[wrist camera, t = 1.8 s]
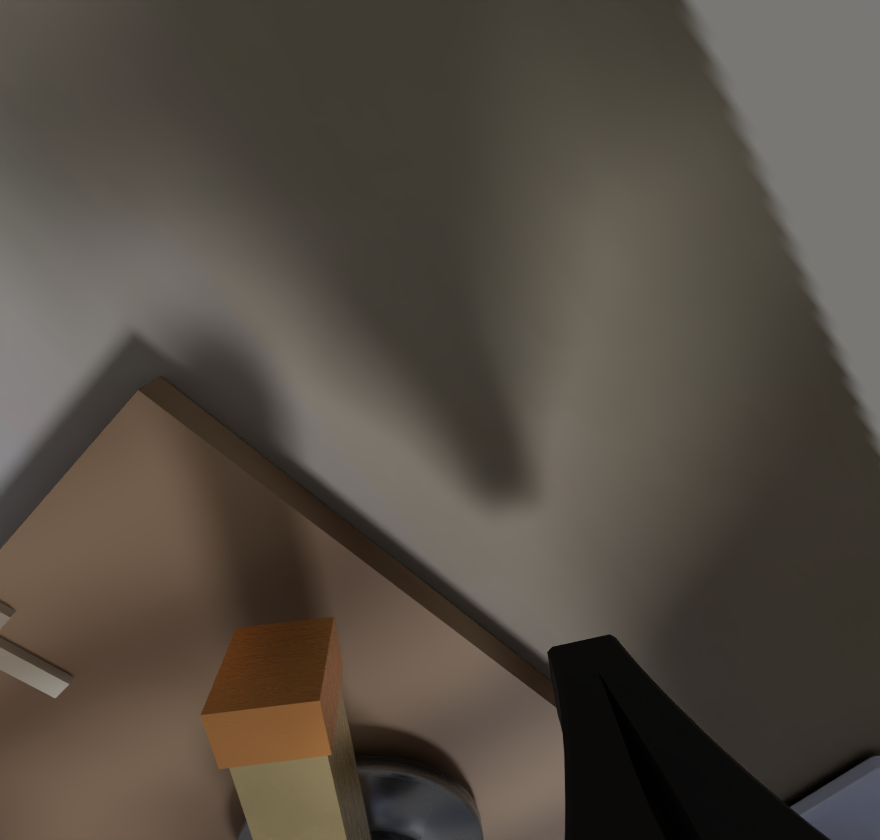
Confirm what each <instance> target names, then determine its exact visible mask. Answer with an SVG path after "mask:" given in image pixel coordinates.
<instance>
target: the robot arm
mask: <svg viewBox="0 0 880 840" xmlns="http://www.w3.org/2000/svg"><path fill="white" fill-rule="evenodd" d="M547 653H548V659H549V665H550V671H551V678H552V684H553V690H554V696H555V702H556V708H557V714H558V718H559V721H560V725H561V729H562V733H563V746H564V770H565V840H880V756H873V757H871V758H868V759H867V760H865V761H863V762H862V763H860V764H859V765H857V766H855V767H854V768H852V769H850V770H849V771H847V772H846V773H844V774H842V775H841V776H839V777H837V778H836V779H834V780H833V781H831V782H829V783H828V784H826V785H824V786H823V787H821V788H820V789H818V790H816V791H815V792H813V793H812V794H810V795H808V796H807V797H805V798H803V799H802V800H800V801H799V802H797V803H795V804H794V805H792V806H790V807H789V806H788V805H786V804H785V803H784V802H783V801H781V800H780V799H779V798H778V797H777V796H775V795H774V794H773V793H772V792H771V791H769V790H768V789H767V788H766V787H765V786H764V785H762V784H761V783H760V782H759V781H758V780H757V779H755V778H754V777H753V776H752V775H751V774H750V773H749V772H747V771H746V770H745V769H744V768H743V767H742V766H741V765H740V764H739V763H737V762H736V761H735V760H734V759H733V758H732V757H731V756H730V755H728V754H727V753H726V752H725V751H724V750H723V749H722V748H721V747H720V746H719V745H718V744H716V743H715V742H714V741H713V740H712V739H711V738H710V737H709V736H708V735H707V734H706V733H705V732H704V731H703V730H702V729H701V728H700V727H699V726H698V725H697V724H696V723H695V722H694V721H692V720H691V719H690V718H689V717H688V716H687V715H686V714H685V713H684V712H683V711H682V710H681V709H680V708H679V707H678V706H677V705H676V704H675V703H674V702H673V701H672V700H671V699H670V698H669V697H668V696H667V695H666V694H665V693H664V692H663V690H662V689H661V688H660V687H659V686H658V685H657V684H656V683H655V682H654V681H653V680H652V679H651V678H650V677H649V676H648V674H647V673H646V672H645V671H644V670H643V669H642V668H641V667H640V666H639V665H638V663H637V662H636V661H635V660H634V659H633V658H632V657H631V655H630V654H629V653H628V652H627V651H626V650H625V648H624V647H623V646H622V645H621V644H620V642H619V641H618V640H617V639H616V638H615V637H614V636H612V635H610V634H609V635H605V636H600V637H596V638H591V639H586V640H582V641H577V642H573V643H568V644H563V645H559V646H554V647H552V648H551V649H550V650H549V651H548V652H547Z"/></svg>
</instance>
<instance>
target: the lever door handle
mask: <svg viewBox="0 0 880 840" xmlns="http://www.w3.org/2000/svg"><path fill="white" fill-rule="evenodd" d="M342 672H343V661H342V656H341V651H340V646H339V641H338V635H337V630H336V625H335V620H334V617H327V618H318V619H309V620H300V621H292V622H283V623H274V624H266V625H257V626H248V627H240V628H236V630H235V632H234V635H233V637H232V640H231V642H230V644H229V647H228V649H227V652H226V654H225V657H224V659H223V661H222V664H221V666H220V669H219V671H218V674H217V676H216V678H215V681H214V683H213V686H212V688H211V691H210V693H209V695H208V698H207V700H206V703H205V705H204V708H203V710H202V713H201V715H200V716H201V718H202V721H203V724H204V727H205V730H206V733H207V736H208V739H209V742H210V745H211V748H212V751H213V754H214V756H215V759H216V762H217V765H218V768H219V769H226V768H229V769H230V772H231V775H232V778H233V781H234V784H235V787H236V790H237V793H238V796H239V799H240V802H241V805H242V808H243V811H244V814H245V817H244V819H243V822H242V824H241V828H240V832H239V835H238V839H237V840H484V837H483V830H482V823H481V817H480V813H479V810H478V808H477V805H476V803H475V801H474V800H473V798H472V797H471V795H470V794H469V793H468V791H467V790H466V789H465V788H464V787H463V786H462V785H461V784H460V783H458V782H457V781H456V780H455V779H453V778H452V777H450V776H449V775H447V774H445V773H444V772H442V771H440V770H438V769H436V768H434V767H431V766H429V765H427V764H424V763H420V762H417V761H414V760H410V759H405V758H400V757H394V756H384V755H356V756H355V755H354V750H353V745H352V740H351V735H350V730H349V725H348V720H347V715H346V710H345V705H344V700H343V695H342V690H341V679H342Z"/></svg>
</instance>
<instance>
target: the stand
mask: <svg viewBox="0 0 880 840" xmlns="http://www.w3.org/2000/svg"><path fill="white" fill-rule="evenodd" d="M327 617H334V620H335V625H336V630H337V635H338V641H339V646H340V651H341V656H342V661H343V672H342V679H341V690H342V695H343V700H344V705H345V710H346V715H347V720H348V725H349V730H350V735H351V740H352V745H353V750H354V755H355V756H356V755H384V756H394V757H400V758H405V759H410V760H414V761H417V762H420V763H424V764H427V765H429V766H431V767H434V768H436V769H438V770H440V771H442V772H444V773H445V774H447V775H449V776H450V777H452V778H453V779H455V780H456V781H457V782H458V783H460V784H461V785H462V786H463V787H464V788H465V789H466V790H467V791H468V793H469V794H470V795H471V797H472V798H473V800H474V801H475V803H476V805H477V808H478V810H479V813H480V817H481V823H482V830H483V837H484V840H565V770H564V746H563V733H562V729H561V725H560V721H559V718H558V714H557V708H556V702H555V696H554V690H553V684H552V682H551V681H550V680H549V679H547V678H546V677H545V676H544V675H542V674H541V673H540V672H539V671H537V670H536V669H535V668H533V667H532V666H531V665H530V664H528V663H527V662H526V661H524V660H523V659H522V658H521V657H519V656H518V655H517V654H515V653H514V652H513V651H512V650H510V649H509V648H508V647H506V646H505V645H504V644H503V643H501V642H500V641H499V640H498V639H496V638H495V637H494V636H492V635H491V634H490V633H489V632H487V631H486V630H485V629H483V628H482V627H481V626H480V625H478V624H477V623H476V622H474V621H473V620H472V619H471V618H469V617H468V616H467V615H466V614H464V613H463V612H462V611H460V610H459V609H458V608H457V607H455V606H454V605H453V604H451V603H450V602H449V601H448V600H446V599H445V598H444V597H442V596H441V595H440V594H439V593H437V592H436V591H435V590H433V589H432V588H431V587H430V586H428V585H427V584H426V583H425V582H423V581H422V580H421V579H419V578H418V577H417V576H416V575H414V574H413V573H412V572H410V571H409V570H408V569H407V568H405V567H404V566H403V565H401V564H400V563H399V562H398V561H396V560H395V559H394V558H392V557H391V556H390V555H389V554H387V553H386V552H385V551H384V550H382V549H381V548H380V547H378V546H377V545H376V544H375V543H373V542H372V541H371V540H369V539H368V538H367V537H366V536H364V535H363V534H362V533H360V532H359V531H358V530H357V529H355V528H354V527H353V526H351V525H350V524H349V523H348V522H346V521H345V520H344V519H343V518H341V517H340V516H339V515H337V514H336V513H335V512H334V511H332V510H331V509H330V508H328V507H327V506H326V505H325V504H323V503H322V502H321V501H319V500H318V499H317V498H316V497H314V496H313V495H312V494H311V493H309V492H308V491H307V490H305V489H304V488H303V487H302V486H300V485H299V484H298V483H296V482H295V481H294V480H293V479H291V478H290V477H289V476H287V475H286V474H285V473H284V472H282V471H281V470H280V469H278V468H277V467H276V466H275V465H273V464H272V463H271V462H270V461H268V460H267V459H266V458H264V457H263V456H262V455H261V454H259V453H258V452H257V451H255V450H254V449H253V448H252V447H250V446H249V445H248V444H246V443H245V442H244V441H243V440H241V439H240V438H239V437H237V436H236V435H235V434H234V433H232V432H231V431H230V430H229V429H227V428H226V427H225V426H223V425H222V424H221V423H220V422H218V421H217V420H216V419H214V418H213V417H212V416H211V415H209V414H208V413H207V412H205V411H204V410H203V409H202V408H200V407H199V406H198V405H197V404H195V403H194V402H193V401H191V400H190V399H189V398H188V397H186V396H185V395H184V394H182V393H181V392H180V391H179V390H177V389H176V388H175V387H173V386H172V385H171V384H170V383H168V382H167V381H166V380H164V379H163V378H162V377H161V376H160V377H158V378H157V379H155V380H153V381H152V382H150V383H149V384H147V385H145V386H144V387H142V388H140V389H139V390H137V392H136V393H135V394H134V395H133V396H132V397H131V399H130V400H129V401H128V402H127V403H126V404H125V406H124V407H123V408H122V409H121V410H120V411H119V412H118V414H117V415H116V416H115V417H114V418H113V419H112V421H111V422H110V423H109V424H108V425H107V426H106V427H105V429H104V430H103V431H102V432H101V433H100V434H99V436H98V437H97V438H96V439H95V440H94V441H93V443H92V444H91V445H90V446H89V447H88V448H87V449H86V451H85V452H84V453H83V454H82V455H81V456H80V458H79V459H78V460H77V461H76V462H75V463H74V464H73V466H72V467H71V468H70V469H69V470H68V471H67V473H66V474H65V475H64V476H63V477H62V478H61V480H60V481H59V482H58V483H57V484H56V485H55V486H54V488H53V489H52V490H51V491H50V492H49V493H48V495H47V496H46V497H45V498H44V499H43V500H42V501H41V503H40V504H39V505H38V506H37V507H36V508H35V510H34V511H33V512H32V513H31V514H30V515H29V517H28V518H27V519H26V520H25V521H24V522H23V523H22V525H21V526H20V527H19V528H18V529H17V530H16V532H15V533H14V534H13V535H12V536H11V537H10V538H9V540H8V541H7V542H6V543H5V544H4V545H3V547H2V548H1V549H0V840H237V839H238V835H239V832H240V828H241V824H242V822H243V819H244V817H245V814H244V811H243V808H242V805H241V802H240V799H239V796H238V793H237V790H236V787H235V784H234V781H233V778H232V775H231V772H230V769H229V768H226V769H219V768H218V765H217V762H216V759H215V756H214V754H213V751H212V748H211V745H210V742H209V739H208V736H207V733H206V730H205V727H204V724H203V721H202V718H201V716H200V715H201V713H202V710H203V708H204V705H205V703H206V700H207V698H208V695H209V693H210V691H211V688H212V686H213V683H214V681H215V678H216V676H217V674H218V671H219V669H220V666H221V664H222V661H223V659H224V657H225V654H226V652H227V649H228V647H229V644H230V642H231V640H232V637H233V635H234V632H235V630H236V628H240V627H248V626H257V625H266V624H274V623H283V622H292V621H300V620H309V619H318V618H327Z"/></svg>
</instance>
